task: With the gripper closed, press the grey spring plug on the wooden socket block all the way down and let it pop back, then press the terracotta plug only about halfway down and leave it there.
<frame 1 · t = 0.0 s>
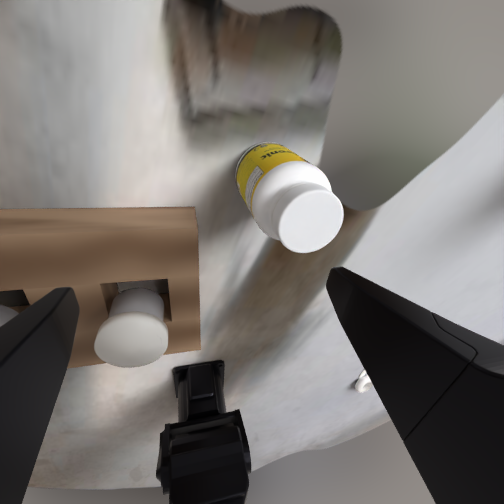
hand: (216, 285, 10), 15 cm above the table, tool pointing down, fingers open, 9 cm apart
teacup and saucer: (366, 365, 47), on the table
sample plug: (135, 324, 21), point 6 cm above the table, slide at 0.2 cm
wooden socket block: (85, 279, 24), on the table
supplement bottle: (264, 172, 23), on the table
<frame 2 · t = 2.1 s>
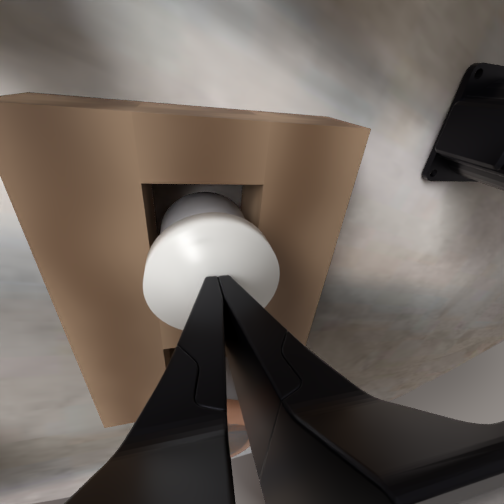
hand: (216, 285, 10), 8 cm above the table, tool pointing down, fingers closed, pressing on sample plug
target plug: (210, 406, 16), point 6 cm above the table, slide at 0.0 cm
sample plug: (209, 255, 11), point 6 cm above the table, slide at 1.0 cm, touching gripper
wooden socket block: (200, 271, 18), on the table
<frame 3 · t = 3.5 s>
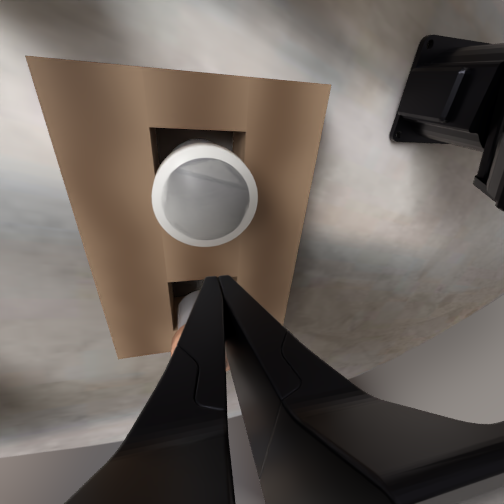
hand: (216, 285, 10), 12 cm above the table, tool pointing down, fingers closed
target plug: (207, 329, 19), point 6 cm above the table, slide at 0.0 cm
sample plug: (203, 187, 14), point 6 cm above the table, slide at 0.7 cm
wooden socket block: (198, 223, 21), on the table
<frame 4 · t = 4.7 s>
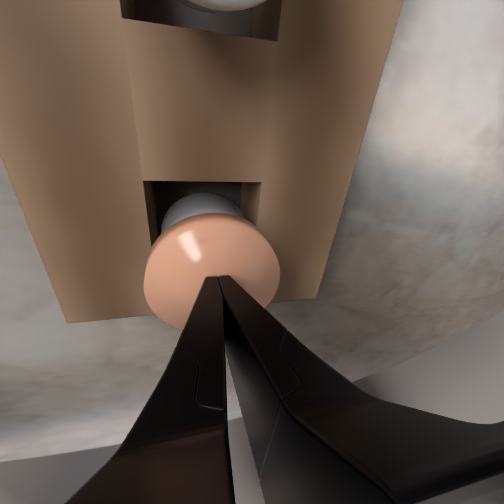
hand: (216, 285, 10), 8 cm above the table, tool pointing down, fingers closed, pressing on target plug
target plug: (209, 255, 11), point 6 cm above the table, slide at 0.6 cm, touching gripper
wooden socket block: (197, 105, 13), on the table
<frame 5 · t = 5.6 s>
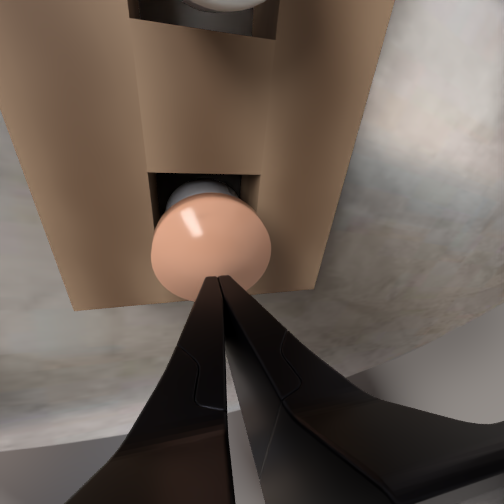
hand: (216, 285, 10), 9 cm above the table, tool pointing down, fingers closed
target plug: (209, 234, 12), point 5 cm above the table, slide at 1.4 cm
wooden socket block: (199, 102, 14), on the table
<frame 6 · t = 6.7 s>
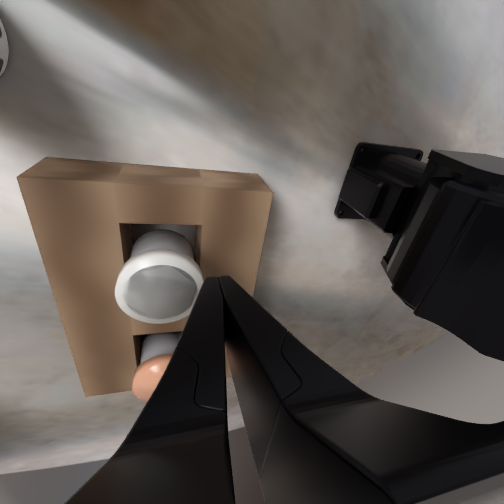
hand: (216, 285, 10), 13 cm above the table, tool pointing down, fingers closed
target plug: (165, 362, 23), point 5 cm above the table, slide at 1.4 cm
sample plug: (162, 272, 17), point 6 cm above the table, slide at 0.7 cm
wooden socket block: (165, 278, 24), on the table
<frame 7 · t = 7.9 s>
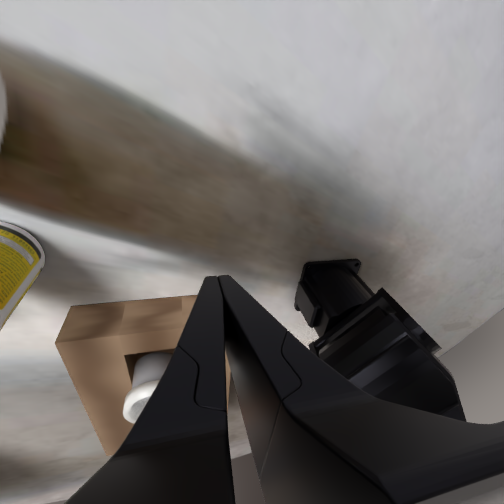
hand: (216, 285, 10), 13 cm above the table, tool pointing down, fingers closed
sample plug: (156, 386, 23), point 6 cm above the table, slide at 0.7 cm
wooden socket block: (163, 363, 31), on the table
supplement bottle: (4, 249, 20), on the table
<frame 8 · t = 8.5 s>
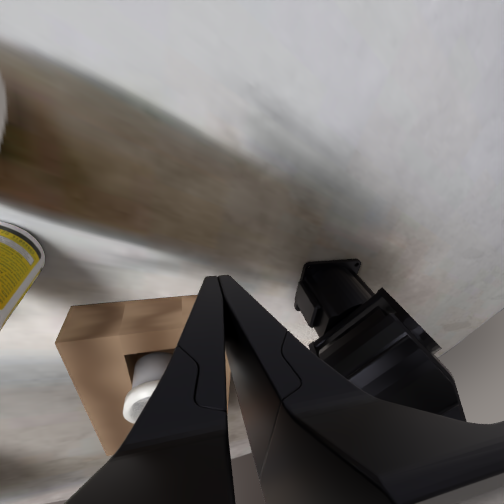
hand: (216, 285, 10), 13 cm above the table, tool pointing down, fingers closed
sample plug: (156, 386, 23), point 6 cm above the table, slide at 0.7 cm
wooden socket block: (163, 363, 31), on the table
supplement bottle: (4, 249, 20), on the table
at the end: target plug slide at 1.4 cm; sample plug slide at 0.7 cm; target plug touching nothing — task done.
